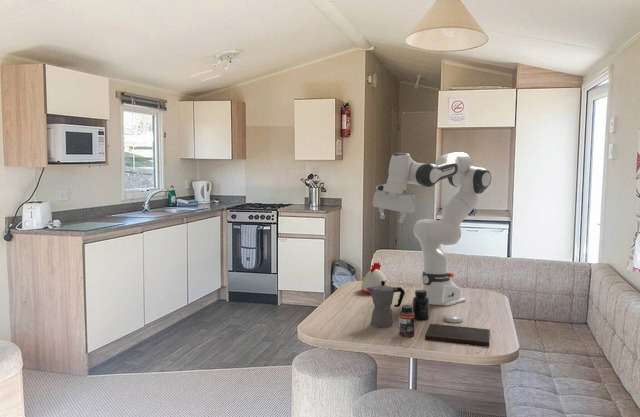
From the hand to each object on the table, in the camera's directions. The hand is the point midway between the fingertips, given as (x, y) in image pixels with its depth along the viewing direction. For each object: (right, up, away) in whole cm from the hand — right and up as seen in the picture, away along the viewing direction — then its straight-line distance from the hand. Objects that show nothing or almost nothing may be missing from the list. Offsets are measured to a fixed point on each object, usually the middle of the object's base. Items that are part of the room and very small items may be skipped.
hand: (391, 220), depth 235 cm
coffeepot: (-5, -42, -16) cm, 45 cm away
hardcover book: (+21, -44, -30) cm, 58 cm away
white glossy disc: (+25, -42, -9) cm, 49 cm away
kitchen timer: (-3, -38, +39) cm, 55 cm away
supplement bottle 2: (+11, -42, -7) cm, 44 cm away
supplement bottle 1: (+2, -44, -29) cm, 52 cm away
